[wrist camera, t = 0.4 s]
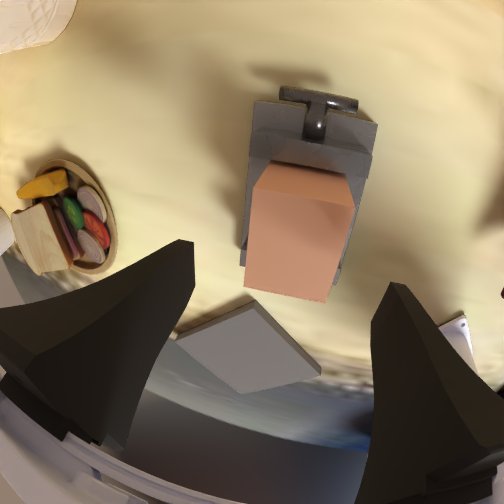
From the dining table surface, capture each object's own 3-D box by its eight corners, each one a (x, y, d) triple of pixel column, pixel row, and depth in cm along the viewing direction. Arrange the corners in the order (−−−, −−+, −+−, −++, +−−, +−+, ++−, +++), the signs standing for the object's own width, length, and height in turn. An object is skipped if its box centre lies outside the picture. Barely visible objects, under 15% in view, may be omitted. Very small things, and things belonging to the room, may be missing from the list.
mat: (321, 367, 27) (320, 375, 26) (243, 387, 32) (241, 394, 31) (255, 300, 23) (253, 308, 23) (178, 334, 29) (174, 341, 28)
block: (275, 154, 16) (253, 187, 11) (343, 167, 15) (355, 207, 10) (265, 228, 18) (243, 286, 13) (325, 240, 18) (325, 303, 13)
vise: (259, 83, 14) (246, 81, 11) (377, 105, 13) (392, 108, 11) (243, 253, 21) (230, 282, 18) (335, 271, 20) (336, 303, 17)
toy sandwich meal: (139, 273, 25) (113, 306, 22) (57, 262, 28) (33, 285, 24) (105, 144, 19) (63, 162, 15) (25, 166, 22) (-7, 183, 18)
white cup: (69, 48, 14) (-33, 63, 6) (24, 52, 14) (-57, 72, 6) (95, -32, 10) (0, -45, 1) (43, -16, 10) (-37, -13, 1)
